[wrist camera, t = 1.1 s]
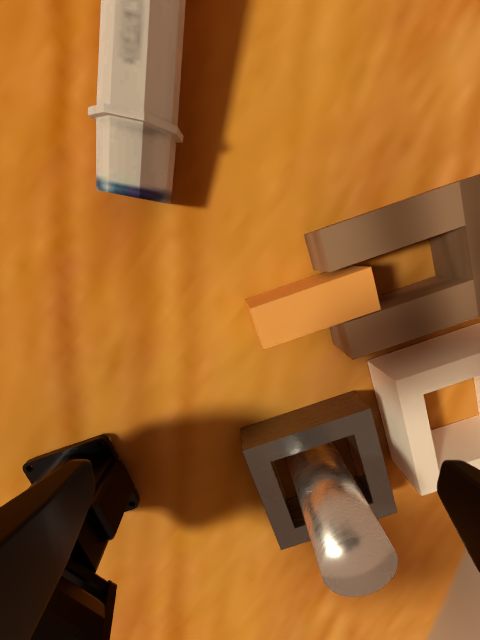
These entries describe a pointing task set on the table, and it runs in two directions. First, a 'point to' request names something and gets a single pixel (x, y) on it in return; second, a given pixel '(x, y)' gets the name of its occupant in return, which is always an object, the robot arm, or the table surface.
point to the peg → (341, 524)
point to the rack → (410, 410)
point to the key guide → (419, 298)
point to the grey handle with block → (138, 97)
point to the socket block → (308, 432)
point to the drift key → (313, 304)
